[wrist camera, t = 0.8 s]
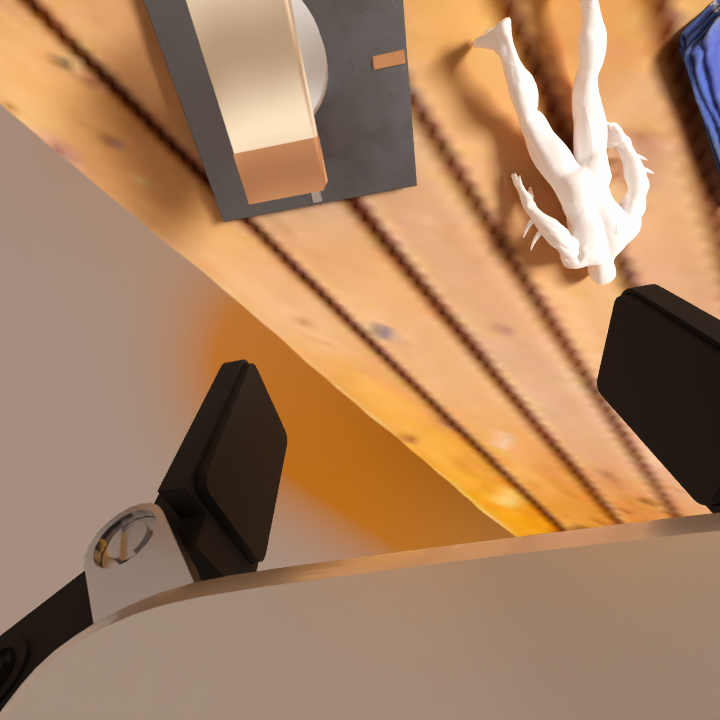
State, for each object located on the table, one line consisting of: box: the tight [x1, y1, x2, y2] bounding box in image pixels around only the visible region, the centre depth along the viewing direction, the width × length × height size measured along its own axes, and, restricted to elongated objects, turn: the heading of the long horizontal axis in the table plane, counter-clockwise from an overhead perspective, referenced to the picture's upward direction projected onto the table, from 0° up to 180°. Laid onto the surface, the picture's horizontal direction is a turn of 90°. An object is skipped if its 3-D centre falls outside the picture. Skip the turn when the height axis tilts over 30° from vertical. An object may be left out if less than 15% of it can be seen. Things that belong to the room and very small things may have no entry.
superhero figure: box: [472, 0, 654, 285], centre depth 31 cm, size 12×6×25 cm
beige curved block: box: [186, 0, 328, 205], centre depth 19 cm, size 12×6×7 cm, turn 10°
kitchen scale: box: [144, 0, 417, 222], centre depth 26 cm, size 18×18×8 cm
